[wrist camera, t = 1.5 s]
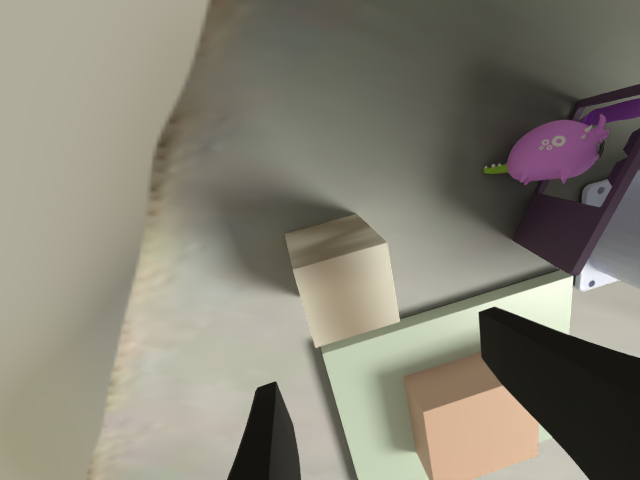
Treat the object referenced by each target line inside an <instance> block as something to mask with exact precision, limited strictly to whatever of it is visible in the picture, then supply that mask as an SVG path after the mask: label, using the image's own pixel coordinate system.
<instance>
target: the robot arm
mask: <svg viewBox="0 0 640 480" xmlns="http://www.w3.org/2000/svg"><path fill="white" fill-rule="evenodd" d="M611 188H612V186H611V184H610V183H609V181H608V179H606V180H602V181H599V182H595V183H592V184H589V185H587V186H586V187H585V188H584V189H583V192H582V202H581V203H583V204H587V205H592V206H596V207H601V206H602V204H603V202H604V200H605V199H606V197H607V195H608V193H609V191H610V189H611ZM598 189H599V190H598ZM618 280H620V281H622V282H625V283H627V284H629V285H632V286H634V287H636V288H638V289H640V170H638V171H637V173H636V175H635V177H634V178H633V180H632V182H631V184H630V186H629V187H628V189H627V191H626V193H625V194H624V196H623V198H622V200H621V202H620V203H619V205H618V207H617V209H616V211H615V212H614V214H613V216H612V218H611V220H610V221H609V223H608V225H607V227H606V228H605V230H604V232H603V234H602V236H601V237H600V239H599V241H598V243H597V245H596V246H595V248H594V250H593V252H592V254H591V255H590V257H589V259H588V261H587V262H586V264H585V266H584V268H583V270H582V271H581V273H580V274H579V275H578V276H576V279H575V288H576V289H578V290H580V291H587V290H590V289H593V288H596V287H599V286H602V285H606V284H609V283H612V282H615V281H618ZM478 314H479V329H480V344H481V358H482V359H483V360H484V362H485V363H486V364H487V366H488V367H489V369H490V370H491V371H492V373H493V374H494V375H495V376H496V378H497V379H498V380H499V382H500V383H501V384H502V385H503V386H504V387H505V388H506V389H507V391H508V392H509V393H510V394H511V395H512V396H513V397H514V398H515V399H516V400H517V401H518V402H519V403H520V404H521V405H522V406H523V407H524V408H525V409H526V410H527V411H528V412H529V414H530V415H531V416H532V417H533V418H534V419H535V420H536V421H537V422H538V423H539V424H540V425H541V426H542V427H543V428H544V429H545V430H546V431H547V432H548V433H549V434H550V435H551V436H552V437H553V438H554V439H555V440H556V441H557V443H558V444H559V445H560V446H561V447H562V448H563V449H564V450H565V451H566V452H567V453H568V455H569V456H570V457H571V458H572V459H573V460H574V461H575V463H576V464H577V465H578V466H579V467H580V469H581V470H582V471H583V472H584V474H585V475H586V476H587V477H588V478H589V480H640V358H638V357H634V356H631V355H628V354H624V353H621V352H618V351H615V350H611V349H608V348H605V347H602V346H599V345H596V344H593V343H590V342H587V341H585V340H582V339H579V338H576V337H573V336H571V335H568V334H565V333H563V332H560V331H557V330H555V329H552V328H549V327H547V326H544V325H542V324H539V323H536V322H534V321H531V320H529V319H526V318H524V317H521V316H519V315H516V314H514V313H511V312H508V311H506V310H503V309H500V308H497V307H492V308H489V309H486V310H483V311H480V312H478ZM227 480H301V475H300V463H299V455H298V449H297V443H296V438H295V432H294V427H293V423H292V421H291V418H290V416H289V413H288V411H287V408H286V405H285V403H284V400H283V398H282V395H281V393H280V390H279V388H278V385H277V382H276V381H275V382H272V383H269V384H266V385H264V386H261V387H258V388H257V390H256V391H255V396H254V400H253V403H252V407H251V411H250V414H249V418H248V421H247V425H246V428H245V431H244V434H243V437H242V440H241V443H240V446H239V449H238V452H237V455H236V458H235V460H234V463H233V466H232V468H231V471H230V473H229V476H228V479H227Z"/></svg>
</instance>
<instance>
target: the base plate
mask: <svg viewBox="0 0 640 480" xmlns="http://www.w3.org/2000/svg"><path fill="white" fill-rule="evenodd" d="M572 286H573V276H572V275H570V274H568V273H566V272H564V271H562V270H559V271H555V272H552V273H549V274H546V275H542V276H539V277H536V278H533V279H529V280H526V281H523V282H520V283H516V284H513V285H510V286H507V287H504V288H500V289H497V290H494V291H491V292H487V293H484V294H481V295H478V296H474V297H471V298H468V299H465V300H461V301H458V302H455V303H452V304H448V305H445V306H442V307H439V308H436V309H432V310H429V311H426V312H423V313H419V314H416V315H413V316H410V317H406V318H403V319H400V322H398V323H395V324H391V325H388V326H385V327H382V328H378V329H375V330H372V331H369V332H366V333H362V334H359V335H356V336H353V337H349V338H346V339H343V340H340V341H336V342H333V343H330V344H327V345H324V346H320V348H321V351H322V355H323V359H324V362H325V366H326V369H327V373H328V376H329V380H330V383H331V387H332V390H333V394H334V397H335V400H336V404H337V407H338V411H339V414H340V418H341V421H342V425H343V428H344V432H345V435H346V439H347V442H348V446H349V449H350V453H351V456H352V460H353V463H354V467H355V470H356V474H357V477H358V480H429V478H428V476H427V474H426V472H425V470H424V468H423V465H422V463H421V461H420V459H419V457H418V455H417V453H416V448H415V442H414V436H413V430H412V425H411V419H410V413H409V407H408V401H407V396H406V390H405V384H404V378H403V377H405V376H408V375H411V374H414V373H417V372H420V371H423V370H426V369H429V368H432V367H435V366H439V365H442V364H445V363H448V362H451V361H454V360H457V359H460V358H463V357H466V356H469V355H472V354H476V353H479V352H481V344H480V329H479V314H478V312H480V311H483V310H486V309H489V308H492V307H497V308H500V309H503V310H506V311H508V312H511V313H514V314H516V315H519V316H521V317H524V318H526V319H529V320H531V321H534V322H536V323H539V324H542V325H544V326H547V327H549V328H552V329H555V330H557V331H560V332H563V333H565V334H568V335H569V327H570V313H571V300H572ZM550 438H553V437H552V436H551V435H550V434H549V433H548V432H547V431H546V430H545V429H544V428H543V427H542V426H541V425H540V424H539V438H538V443H539V442H542V441H545V440H547V439H550Z"/></svg>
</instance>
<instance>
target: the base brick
mask: <svg viewBox="0 0 640 480" xmlns="http://www.w3.org/2000/svg"><path fill="white" fill-rule="evenodd" d="M403 378H404V384H405V390H406V396H407V401H408V407H409V413H410V419H411V425H412V430H413V436H414V442H415V448H416V453H417V455H418V457H419V459H420V461H421V463H422V465H423V468H424V470H425V472H426V474H427V476H428V478H429V480H471V479H474V478H477V477H480V476H483V475H485V474H488V473H491V472H494V471H497V470H499V469H502V468H505V467H508V466H511V465H513V464H516V463H519V462H522V461H525V460H527V459H530V458H533V457H536V456H538V438H539V423H538V422H537V421H536V420H535V419H534V418H533V417H532V416H531V415H530V414H529V412H528V411H527V410H526V409H525V408H524V407H523V406H522V405H521V404H520V403H519V402H518V401H517V400H516V399H515V398H514V397H513V396H512V395H511V394H510V393H509V392H508V391H507V389H506V388H505V387H504V386H503V385H502V384H501V383H500V382H499V380H498V379H497V378H496V376H495V375H494V374H493V373H492V371H491V370H490V369H489V367H488V366H487V364H486V363H485V362H484V360H483V359H482V358H481V352H479V353H476V354H472V355H469V356H466V357H463V358H460V359H457V360H454V361H451V362H448V363H445V364H442V365H439V366H435V367H432V368H429V369H426V370H423V371H420V372H417V373H414V374H411V375H408V376H405V377H403Z"/></svg>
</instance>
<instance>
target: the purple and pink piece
mask: <svg viewBox="0 0 640 480" xmlns="http://www.w3.org/2000/svg"><path fill="white" fill-rule="evenodd" d="M636 95H640V84H638V85H634V86H631V87H627V88H623V89H619V90H616V91H612V92H608V93H604V94H601V95H597V96H593V97H589V98H586V99H582V100H580V101H579V102H578V104H577V106H576V108H575V111H574V113H573V115H572V117H571V119H570V120H557V121H552V122H549V123H546V124H543V125H541V126H539V127H537V128H535V129H533V130H531V131H530V132H528V133H527V134H525V135H524V136H523V137H522V138H520V139H519V140H518V141H517V143H516V144H515V145H514V146H513V148H512V150H511V152H510V154H509V157H508V161H507V163H506V164H504V165H501V164H500V163H499V165H498V166H495V164H493V165H492V167H490V168H488V167H487V166H485V167H484V170H483V172H484V173H485V174H497V173H506V172H507V173H509V174H510V175H511V176H512V177H513V178H514V179H516V180H520V182H524V185H527V184H529V183H530V182H531V181H538V180H541V182H540V184H539V186H538V188H537V190H536V192H535V194H534V196H533V198H532V201H531V203H530V205H529V207H528V209H527V211H526V213H525V215H524V217H523V219H522V221H521V224H520V226H519V228H518V230H517V232H516V234H515V236H514V238H513V241H515V242H516V243H518V244H520V245H521V246H523V247H524V248H526V249H528V250H529V251H531V252H533V253H534V254H536V255H538V256H539V257H541V258H543V259H544V260H546V261H548V262H549V263H551V264H553V265H554V266H556V267H558V268H559V269H561V270H563V271H564V272H566V273H568V274H571V275H575V276H578V275H579V274H580V273H581V271H582V270H583V268H584V266H585V264H586V262H587V261H588V259H589V257H590V255H591V254H592V252H593V250H594V248H595V246H596V245H597V243H598V241H599V239H600V237H601V236H602V234H603V232H604V230H605V228H606V227H607V225H608V223H609V221H610V220H611V218H612V216H613V214H614V212H615V211H616V209H617V207H618V205H619V203H620V202H621V200H622V198H623V196H624V194H625V193H626V191H627V189H628V187H629V186H630V184H631V182H632V180H633V178H634V177H635V175H636V173H637V171H638V169H639V168H640V128H639V129H638V130H636V131H634V132H633V133H632V134H631V136H630V138H629V140H628V142H627V144H626V146H625V148H624V149H623V150H624V151H625V152H626V154H627V155H628V157H627V158H625V159H623V160H621V161H619V162H617V163H616V164H615V166H614V168H613V170H612V172H611V174H610V175H609V177H608V181H609V183H610V184H611V186H612V188H611V189H610V191H609V193H608V195H607V197H606V199H605V200H604V202H603V204H602V206H601V207H596V206H592V205H587V204H583V203H578V202H574V201H570V200H565V199H561V198H556V197H552V196H548V195H543V192H544V190H545V188H546V186H547V184H548V182H549V180H550V179H561V180H562V183H563V184H564V183H565V182H566V180H567V179H568V178H572V177H576V176H578V175H581V174H582V173H584V172H585V171H587V170H588V169H589V168H590V167H591V166H592V165H593V164H594V163H595V162H596V161H597V159H598V158H599V157H601V154H602V152H603V149H604V144H605V142H604V141H603V143H602V140H603V139H605V138H606V137H607V136H608V134H607V133H608V132H609V131H610V129H606V130H604V127H605V123H608V122H612V121H618V120H625V119H631V118H636V117H640V98H639V99H634V100H630V101H625V102H622V103H618V104H615V105H611V106H607V107H603V108H599V109H595V110H593V111H592V112H590V113H589V114H588V115H587V116H585V117H584V118H583V119H581V120H580V121H579V122H578V120H579V118H580V116H581V114H582V112H583V110H584V108H585V107H588V106H592V105H596V104H601V103H605V102H609V101H614V100H618V99H622V98H627V97H631V96H636ZM592 125H598V126H597V127H596V128H595V129H593V128H592Z"/></svg>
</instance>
